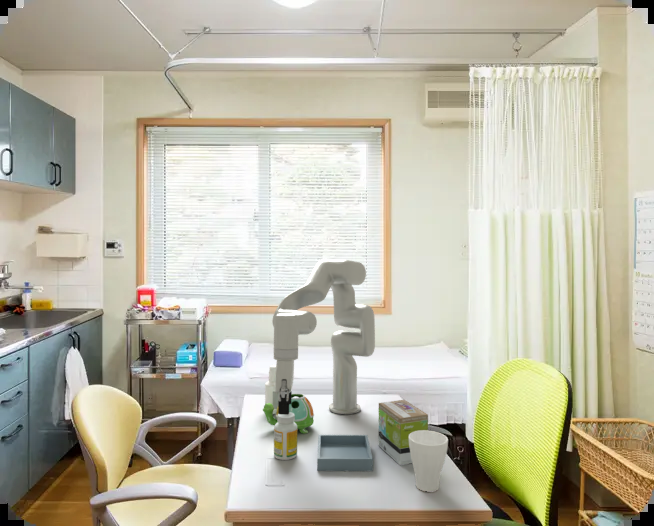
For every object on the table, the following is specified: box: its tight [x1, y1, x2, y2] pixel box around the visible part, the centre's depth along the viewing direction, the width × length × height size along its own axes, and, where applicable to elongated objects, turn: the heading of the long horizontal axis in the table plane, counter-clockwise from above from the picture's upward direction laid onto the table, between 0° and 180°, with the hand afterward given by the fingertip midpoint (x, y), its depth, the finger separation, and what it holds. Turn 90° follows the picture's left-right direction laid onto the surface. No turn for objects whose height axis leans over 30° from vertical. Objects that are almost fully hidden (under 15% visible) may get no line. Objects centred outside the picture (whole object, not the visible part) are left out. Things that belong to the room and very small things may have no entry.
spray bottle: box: [264, 364, 280, 415], centre depth 190 cm, size 7×7×18 cm
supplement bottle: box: [273, 412, 298, 461], centre depth 150 cm, size 7×7×13 cm
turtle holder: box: [262, 393, 315, 434], centre depth 172 cm, size 12×18×12 cm
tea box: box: [378, 399, 429, 466], centre depth 152 cm, size 15×10×15 cm
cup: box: [409, 429, 449, 493], centre depth 131 cm, size 10×10×14 cm
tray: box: [316, 434, 374, 472], centre depth 149 cm, size 18×16×4 cm
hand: (285, 408), depth 149 cm, fingers open, 9 cm apart
